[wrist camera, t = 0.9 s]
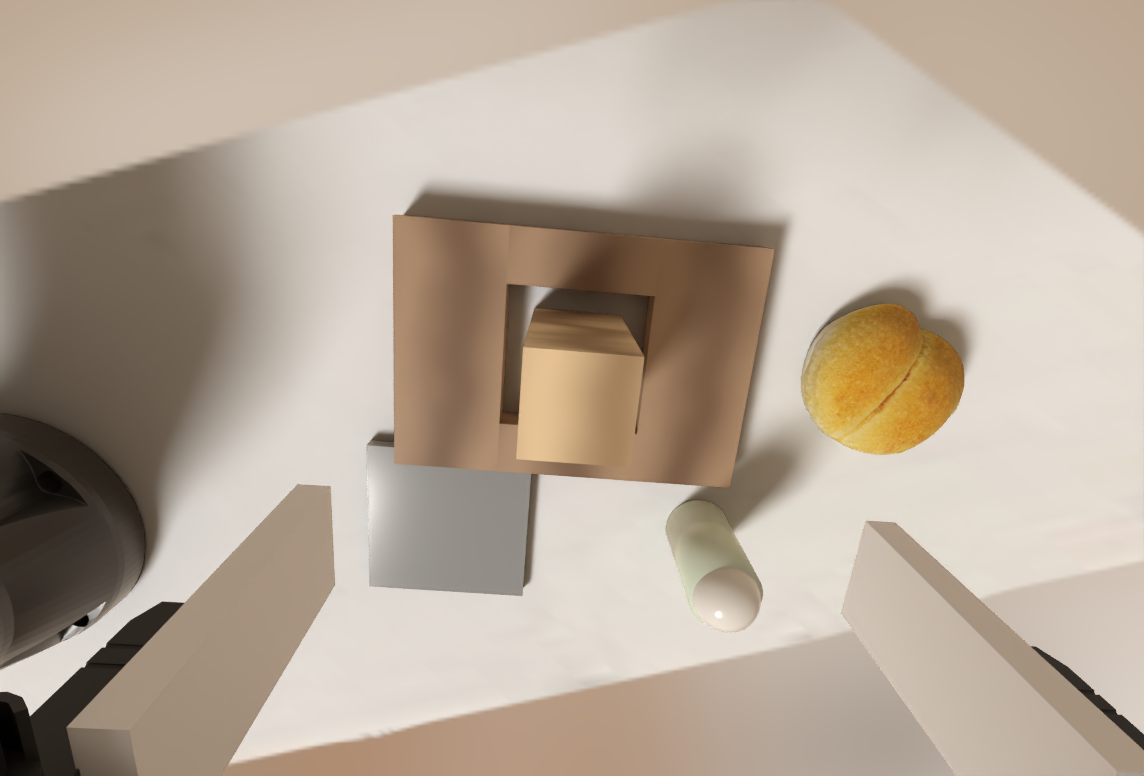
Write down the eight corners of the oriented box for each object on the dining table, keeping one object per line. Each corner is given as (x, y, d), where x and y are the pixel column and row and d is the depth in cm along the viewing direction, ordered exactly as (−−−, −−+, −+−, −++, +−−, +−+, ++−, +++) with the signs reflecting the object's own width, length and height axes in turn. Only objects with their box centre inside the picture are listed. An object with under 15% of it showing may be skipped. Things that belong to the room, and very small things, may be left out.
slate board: (373, 578, 38) (369, 586, 37) (370, 440, 35) (366, 445, 34) (523, 588, 38) (522, 595, 37) (532, 452, 35) (532, 457, 34)
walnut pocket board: (403, 450, 35) (394, 463, 33) (403, 214, 31) (392, 214, 29) (721, 473, 36) (730, 487, 34) (762, 246, 32) (774, 249, 30)
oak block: (529, 390, 34) (516, 459, 25) (534, 307, 33) (523, 347, 23) (611, 396, 34) (630, 467, 25) (620, 315, 33) (644, 356, 23)
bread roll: (858, 276, 33) (898, 284, 29) (965, 364, 34) (1015, 382, 30) (764, 388, 35) (789, 409, 31) (869, 465, 36) (905, 495, 32)
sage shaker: (661, 551, 38) (690, 649, 29) (670, 497, 36) (702, 583, 28) (721, 555, 38) (766, 654, 29) (731, 502, 37) (781, 588, 28)
